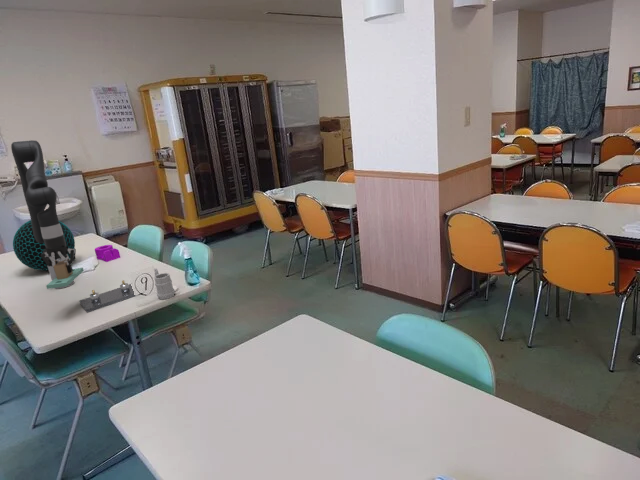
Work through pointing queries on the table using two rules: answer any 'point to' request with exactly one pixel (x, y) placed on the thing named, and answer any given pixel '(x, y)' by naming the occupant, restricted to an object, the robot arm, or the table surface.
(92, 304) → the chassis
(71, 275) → the board
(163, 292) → the mug
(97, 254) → the tape dispenser
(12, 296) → the table surface
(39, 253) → the decorative sphere
